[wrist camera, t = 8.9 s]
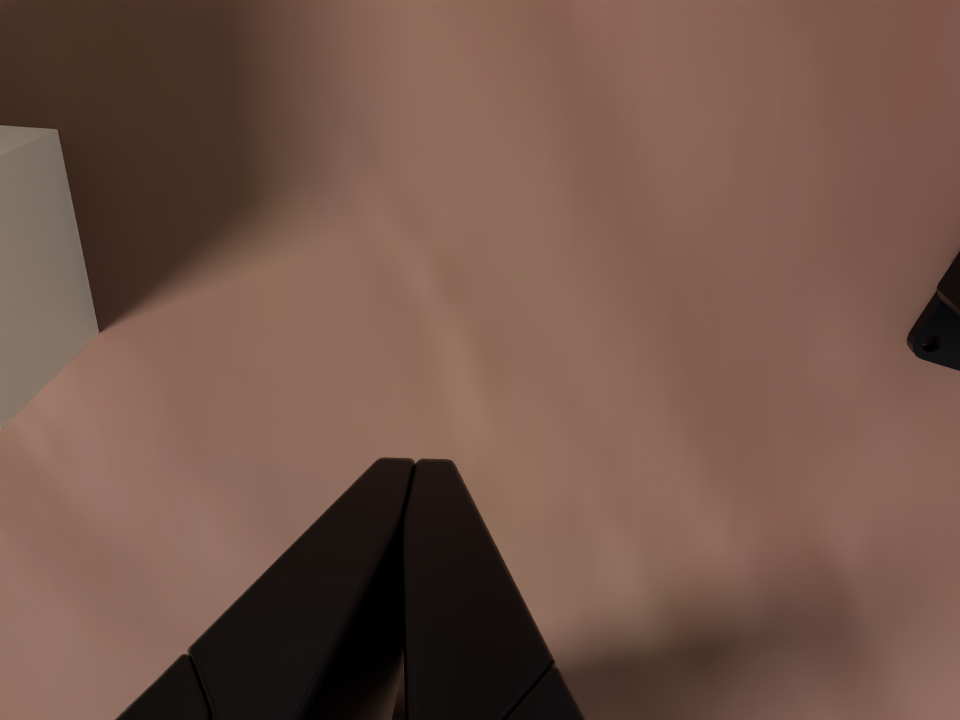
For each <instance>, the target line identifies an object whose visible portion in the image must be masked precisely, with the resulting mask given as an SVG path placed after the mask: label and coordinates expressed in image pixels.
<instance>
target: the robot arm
mask: <svg viewBox="0 0 960 720" xmlns="http://www.w3.org/2000/svg"><path fill="white" fill-rule="evenodd" d="M931 336H935V338H934V340H933V341H932V342H931V343H930V344H928V345H922V344H923V342H924V341H925V340H926V339H927V338H928V337H931ZM907 345H908V347H909V348H910V350H911V351H912V352H913V353H914V354H915V355H916V356H917V357H919V358H920V359H923V360H926V361H929V362H932V363H936V364H939V365H942V366H945V367H949V368H952V369H955V370H959V371H960V252H959V253H958V255H957V256H956V258H955V259H954V261H953V262H952V264H951V265H950V267H949V268H948V270H947V272H946V273H945V275H944V276H943V278H942V279H941V281H940V282H939V284H938V286H937V291H936V293H935V294H934V296H933V297H932V299H931V300H930V302H929V303H928V305H927V306H926V308H925V309H924V311H923V312H922V314H921V315H920V317H919V319H918V320H917V322H916V323H915V325H914V326H913V328H912V329H911V331H910V332H909V335H908V337H907ZM403 665H404V680H405V720H586V719H585V717H584V715H583V714H582V712H581V710H580V708H579V706H578V705H577V703H576V701H575V699H574V697H573V695H572V693H571V691H570V689H569V687H568V686H567V684H566V682H565V680H564V678H563V676H562V674H561V672H560V670H559V669H558V668H557V667H555V661H554V659H553V657H552V655H551V653H550V651H549V649H548V647H547V645H546V643H545V641H544V639H543V637H542V635H541V633H540V631H539V629H538V627H537V625H536V623H535V621H534V619H533V617H532V615H531V613H530V611H529V609H528V607H527V605H526V603H525V602H524V600H523V598H522V596H521V594H520V592H519V590H518V588H517V586H516V584H515V582H514V580H513V578H512V576H511V574H510V572H509V570H508V568H507V566H506V564H505V562H504V560H503V558H502V556H501V554H500V552H499V550H498V548H497V546H496V544H495V542H494V540H493V538H492V536H491V534H490V532H489V530H488V528H487V527H486V525H485V523H484V521H483V519H482V517H481V515H480V513H479V511H478V509H477V507H476V505H475V503H474V501H473V499H472V497H471V495H470V493H469V491H468V489H467V487H466V485H465V483H464V481H463V479H462V477H461V475H460V473H459V471H458V469H457V467H456V465H455V464H454V462H453V461H451V460H448V459H420V460H418V461H417V463H416V464H415V462H414V460H413V459H410V458H386V457H384V458H380V459H378V460H376V461H375V462H374V463H373V464H372V465H371V466H370V467H369V468H368V469H367V470H366V471H365V472H364V473H363V474H362V475H361V476H360V477H359V478H358V479H357V480H356V481H355V482H354V483H353V484H352V485H351V486H350V487H349V488H348V489H347V490H346V491H345V492H344V493H343V494H342V495H341V496H340V497H339V498H338V499H337V500H336V501H335V502H334V503H333V504H332V505H331V506H330V507H329V508H328V509H327V510H326V511H325V512H324V513H323V514H322V515H321V516H320V517H319V518H318V519H317V520H316V521H315V522H314V523H313V524H312V525H311V526H310V527H309V528H308V529H307V530H306V531H305V532H304V533H303V534H302V535H301V536H300V537H299V538H298V539H297V540H296V541H295V542H294V543H293V544H292V545H291V546H290V547H289V548H288V549H287V550H286V551H285V552H284V553H283V554H282V555H281V556H280V557H279V558H278V559H277V560H276V561H275V562H274V563H273V564H272V565H271V566H270V567H269V568H268V569H267V570H266V571H265V572H264V573H263V574H262V575H261V576H260V577H259V578H258V579H257V580H256V581H255V582H254V583H253V584H252V585H251V586H250V587H249V588H248V589H247V590H246V591H245V592H244V593H243V594H242V595H241V596H240V597H239V598H238V599H237V600H236V601H235V602H234V603H233V604H232V605H231V606H230V607H229V608H228V609H227V610H226V611H225V612H224V613H223V614H222V615H221V616H220V617H219V618H218V619H217V620H216V621H215V622H214V623H213V624H212V625H211V626H210V627H209V628H208V629H207V630H206V631H205V632H204V633H203V634H202V635H201V636H200V637H199V638H198V639H197V640H196V641H195V642H194V643H193V644H192V645H191V646H190V647H189V649H188V655H187V654H183V655H181V656H180V657H179V658H178V659H177V660H176V661H175V662H174V663H173V664H172V665H171V666H170V667H169V668H168V669H167V670H166V671H165V672H164V673H163V674H162V675H161V676H160V677H159V678H158V679H157V680H156V681H155V682H154V683H153V684H152V685H151V686H150V687H149V688H147V689H146V690H145V691H144V692H143V693H142V694H141V695H140V696H139V697H138V698H137V699H136V700H135V701H134V702H133V703H132V704H131V705H130V706H129V707H127V708H126V709H125V710H124V711H123V712H122V713H121V714H120V715H119V716H118V717H117V718H116V719H115V720H392V716H393V711H394V707H395V702H396V698H397V693H398V689H399V684H400V680H401V675H402V670H403Z"/></svg>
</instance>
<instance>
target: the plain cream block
mask: <svg viewBox="0 0 960 720" xmlns="http://www.w3.org/2000/svg"><path fill="white" fill-rule="evenodd" d="M98 334H99V330H98V325H97V320H96V315H95V310H94V305H93V301H92V296H91V291H90V286H89V281H88V276H87V271H86V266H85V262H84V257H83V252H82V247H81V242H80V237H79V232H78V227H77V223H76V218H75V213H74V208H73V203H72V198H71V193H70V188H69V184H68V179H67V174H66V169H65V164H64V159H63V154H62V149H61V145H60V140H59V135H58V130H57V129H45V128H31V127H17V126H3V125H0V430H1V429H2V428H3V427H4V426H5V425H6V424H7V423H8V422H9V421H10V420H11V419H12V418H13V417H14V416H15V415H16V414H17V413H18V412H19V411H20V410H21V409H23V408H24V407H25V406H26V405H27V404H28V403H29V402H30V401H31V400H32V399H33V398H34V397H35V396H36V395H37V394H38V393H39V392H40V391H41V390H42V389H43V388H44V387H45V386H46V385H47V384H48V383H49V382H50V381H51V380H52V379H53V378H54V377H55V376H56V375H57V374H58V373H59V372H60V371H61V370H62V369H63V368H64V367H65V366H66V365H67V364H68V363H69V362H70V361H71V360H72V359H73V358H74V357H75V356H76V355H77V354H78V353H80V352H81V351H82V350H83V349H84V348H85V347H86V346H87V345H88V344H89V343H90V342H91V341H92V340H93V339H94V338H95V337H96V336H97V335H98Z"/></svg>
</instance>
